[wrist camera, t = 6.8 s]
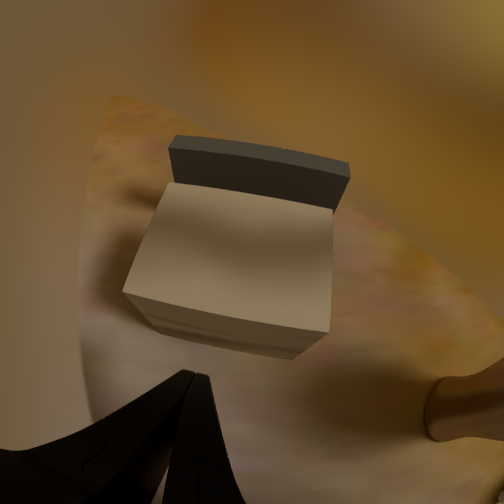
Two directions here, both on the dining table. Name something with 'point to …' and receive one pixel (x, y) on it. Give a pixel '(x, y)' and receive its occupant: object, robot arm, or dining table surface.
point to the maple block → (235, 271)
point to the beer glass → (467, 406)
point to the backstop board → (259, 170)
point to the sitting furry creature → (501, 496)
